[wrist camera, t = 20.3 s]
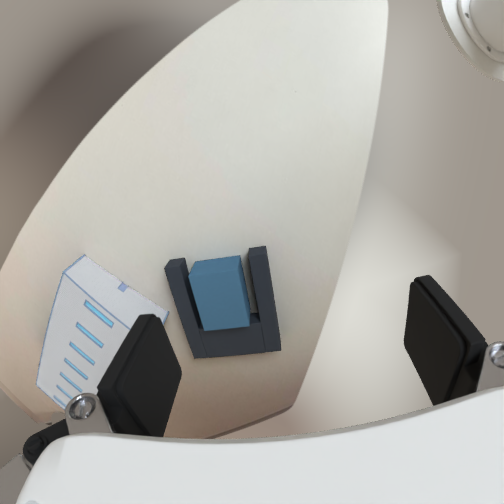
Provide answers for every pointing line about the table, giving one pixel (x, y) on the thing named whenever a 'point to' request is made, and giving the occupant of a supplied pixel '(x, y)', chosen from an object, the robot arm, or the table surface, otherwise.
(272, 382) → the table surface
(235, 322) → the blue rectangular block
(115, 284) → the warehouse
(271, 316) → the dark grey u-frame
